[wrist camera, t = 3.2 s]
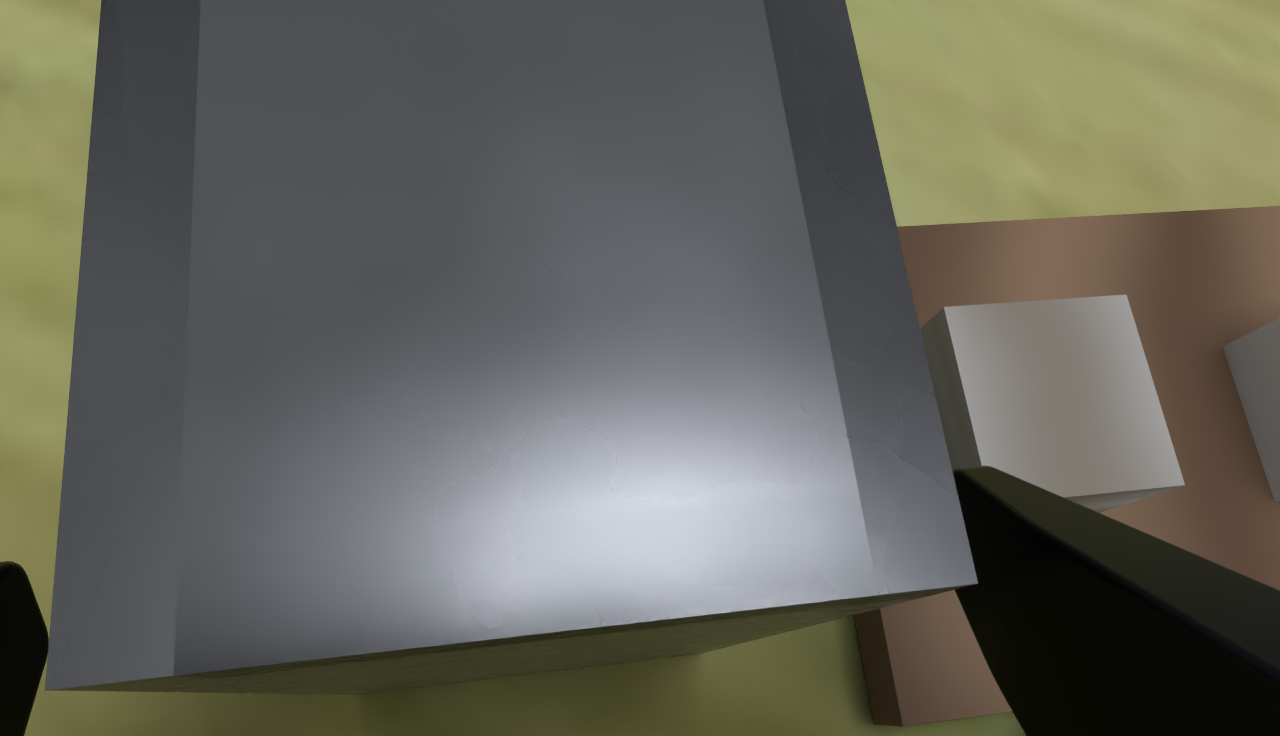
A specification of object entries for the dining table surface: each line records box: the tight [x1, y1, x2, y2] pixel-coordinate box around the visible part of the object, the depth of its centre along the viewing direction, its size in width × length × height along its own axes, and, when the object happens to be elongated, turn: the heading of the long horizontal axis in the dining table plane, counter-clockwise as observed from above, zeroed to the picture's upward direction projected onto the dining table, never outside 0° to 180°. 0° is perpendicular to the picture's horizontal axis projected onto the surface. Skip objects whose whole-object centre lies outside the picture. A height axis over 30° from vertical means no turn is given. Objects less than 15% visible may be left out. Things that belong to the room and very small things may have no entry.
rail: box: [854, 206, 1280, 727], centre depth 19 cm, size 17×10×5 cm, turn 97°
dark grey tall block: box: [45, 0, 978, 695], centre depth 13 cm, size 7×7×12 cm
